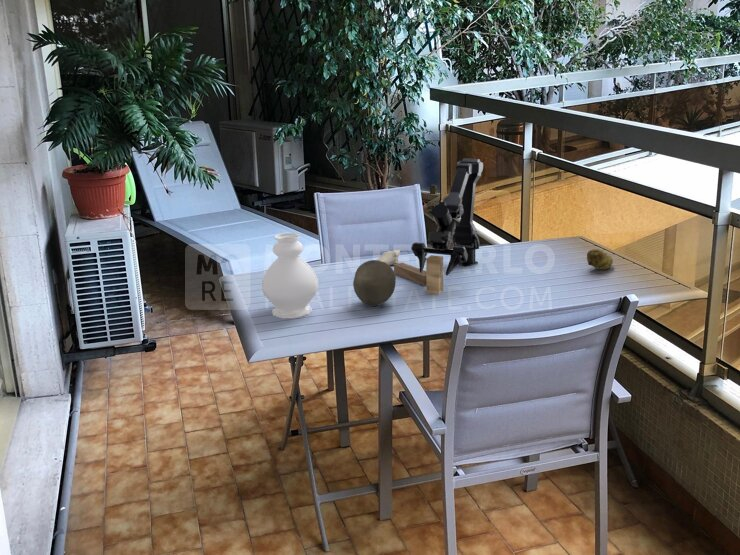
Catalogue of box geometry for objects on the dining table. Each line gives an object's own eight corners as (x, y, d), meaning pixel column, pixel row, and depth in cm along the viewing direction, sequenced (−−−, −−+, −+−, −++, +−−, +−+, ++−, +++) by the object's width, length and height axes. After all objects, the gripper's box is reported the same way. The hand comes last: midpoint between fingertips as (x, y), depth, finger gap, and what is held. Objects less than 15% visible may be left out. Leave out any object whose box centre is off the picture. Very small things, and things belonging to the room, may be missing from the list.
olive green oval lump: (621, 269, 270) (623, 247, 267) (594, 274, 264) (596, 253, 262) (605, 263, 277) (607, 242, 274) (578, 268, 271) (580, 247, 269)
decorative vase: (272, 325, 225) (267, 246, 217) (257, 307, 241) (251, 233, 233) (327, 315, 232) (324, 238, 224) (309, 299, 247) (305, 226, 240)
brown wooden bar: (402, 271, 274) (402, 262, 273) (433, 283, 260) (433, 273, 259) (393, 273, 272) (393, 264, 271) (424, 285, 257) (424, 276, 256)
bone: (383, 249, 287) (387, 262, 289) (357, 270, 270) (361, 283, 272) (400, 247, 283) (404, 261, 285) (375, 268, 266) (379, 282, 268)
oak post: (430, 288, 254) (430, 255, 251) (443, 290, 252) (443, 256, 249) (426, 292, 250) (426, 258, 247) (438, 294, 249) (438, 259, 245)
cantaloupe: (345, 303, 242) (343, 259, 238) (382, 295, 249) (381, 252, 244) (366, 316, 230) (365, 270, 226) (405, 307, 237) (404, 263, 232)
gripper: (413, 219, 251) (401, 259, 245) (465, 223, 244) (454, 264, 238) (421, 236, 261) (410, 275, 254) (472, 240, 253) (462, 280, 247)
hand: (433, 273), depth 248 cm, fingers open, 9 cm apart
